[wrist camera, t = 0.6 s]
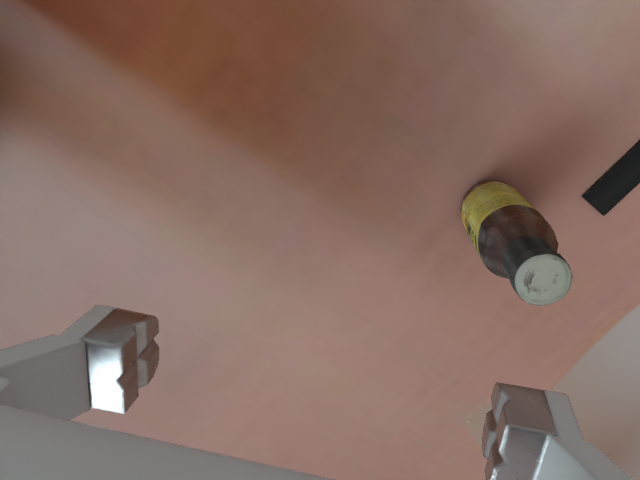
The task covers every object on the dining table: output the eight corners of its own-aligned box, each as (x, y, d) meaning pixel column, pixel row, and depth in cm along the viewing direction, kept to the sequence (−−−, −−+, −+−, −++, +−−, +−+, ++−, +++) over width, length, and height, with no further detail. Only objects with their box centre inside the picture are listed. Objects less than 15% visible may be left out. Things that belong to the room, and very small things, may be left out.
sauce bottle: (446, 211, 59) (471, 280, 40) (488, 165, 57) (534, 215, 38) (493, 249, 60) (539, 335, 41) (536, 205, 58) (605, 274, 39)
